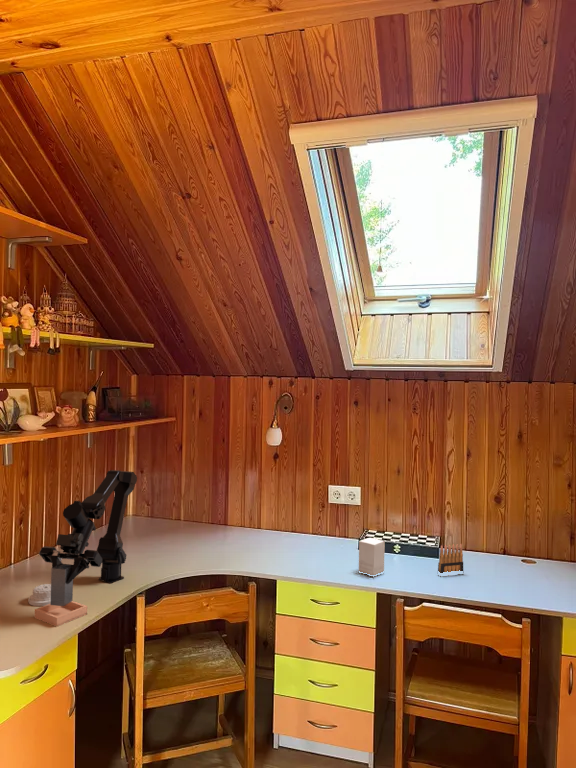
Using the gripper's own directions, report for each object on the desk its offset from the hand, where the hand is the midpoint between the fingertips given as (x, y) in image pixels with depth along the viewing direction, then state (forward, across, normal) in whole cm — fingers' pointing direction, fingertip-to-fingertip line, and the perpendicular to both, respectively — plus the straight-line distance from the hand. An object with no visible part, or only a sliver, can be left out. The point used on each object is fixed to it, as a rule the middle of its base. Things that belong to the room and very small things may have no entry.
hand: (59, 582), depth 167 cm
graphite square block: (+4, 0, +6) cm, 7 cm away
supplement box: (-37, +92, +53) cm, 113 cm away
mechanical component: (0, -12, +16) cm, 20 cm away
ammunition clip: (-41, +123, +57) cm, 142 cm away
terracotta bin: (+7, 0, +8) cm, 11 cm away
